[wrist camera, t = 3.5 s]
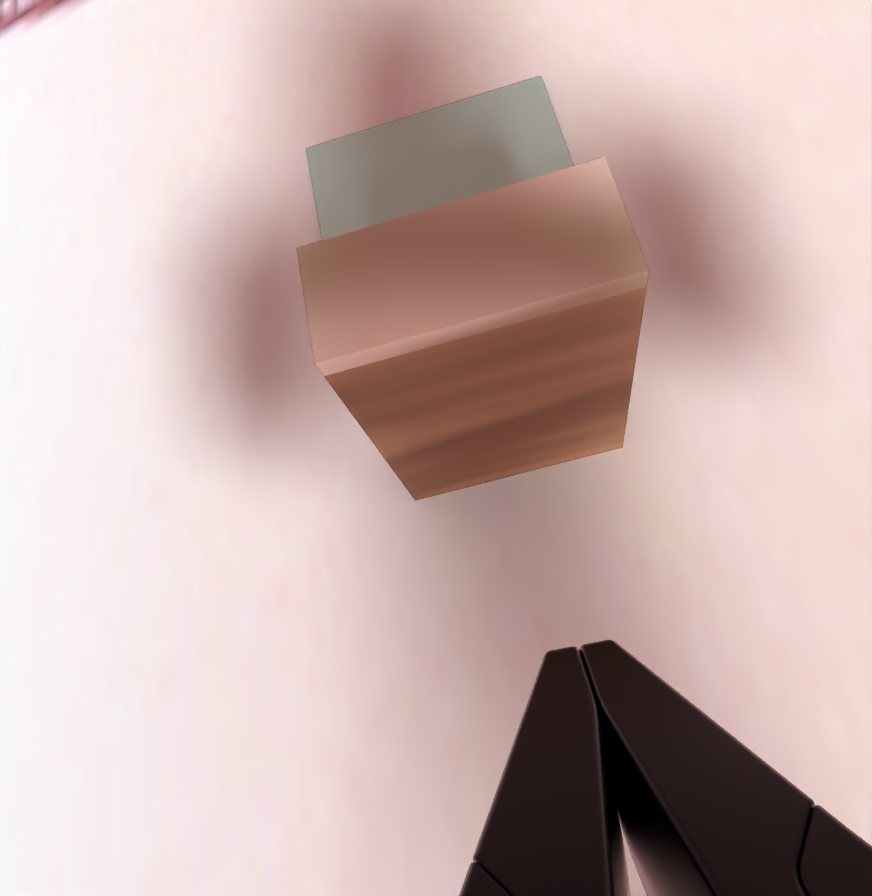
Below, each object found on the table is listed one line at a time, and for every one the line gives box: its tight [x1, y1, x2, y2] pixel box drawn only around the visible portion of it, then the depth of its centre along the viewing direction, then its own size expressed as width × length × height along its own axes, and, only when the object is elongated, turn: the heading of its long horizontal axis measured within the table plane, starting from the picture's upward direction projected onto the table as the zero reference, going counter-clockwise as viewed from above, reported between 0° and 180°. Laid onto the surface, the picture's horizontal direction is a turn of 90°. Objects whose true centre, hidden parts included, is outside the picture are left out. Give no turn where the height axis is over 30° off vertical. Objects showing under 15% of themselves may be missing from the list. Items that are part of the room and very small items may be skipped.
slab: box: [296, 157, 649, 500], centre depth 20 cm, size 3×7×10 cm, turn 102°
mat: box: [306, 76, 574, 241], centre depth 28 cm, size 12×10×1 cm
